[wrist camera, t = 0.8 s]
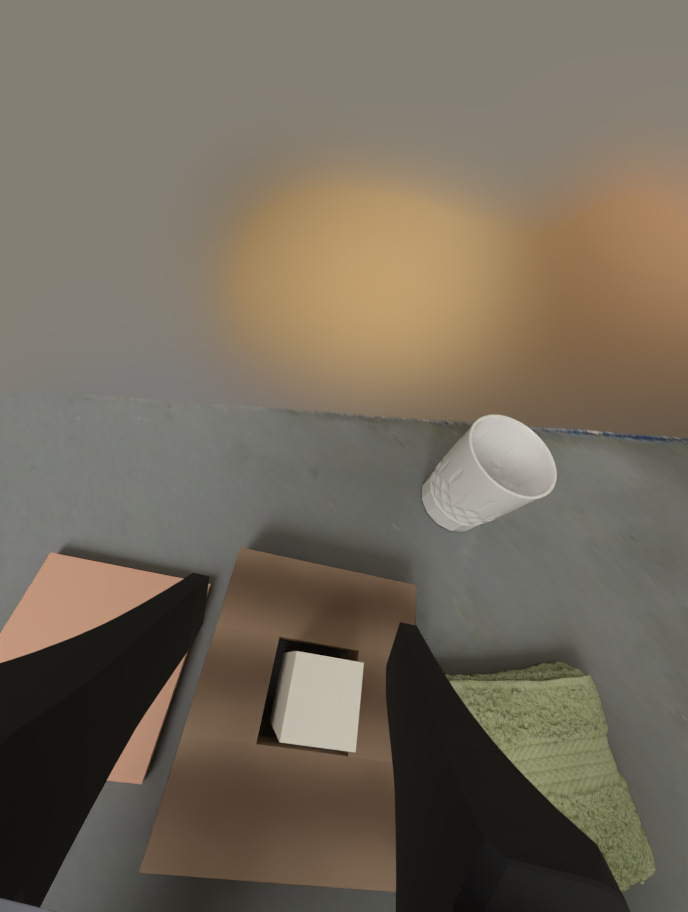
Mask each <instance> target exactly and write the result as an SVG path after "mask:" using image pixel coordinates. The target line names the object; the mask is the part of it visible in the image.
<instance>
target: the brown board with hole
mask: <svg viewBox="0 0 688 912" xmlns="http://www.w3.org/2000/svg"><path fill="white" fill-rule="evenodd" d="M400 622H403V623H407V624H411V625H416V585H414V584H409V583H404V582H400V581H395V580H390V579H386V578H381V577H376V576H372V575H367V574H362V573H358V572H353V571H348V570H344V569H339V568H334V567H330V566H325V565H320V564H316V563H311V562H306V561H302V560H297V559H292V558H288V557H283V556H278V555H274V554H269V553H265V552H260V551H255V550H251V549H246V548H240V551H239V554H238V557H237V561H236V564H235V567H234V570H233V573H232V577H231V580H230V583H229V586H228V589H227V593H226V596H225V599H224V602H223V605H222V609H221V612H220V615H219V618H218V621H217V625H216V628H215V631H214V634H213V637H212V641H211V644H210V647H209V650H208V653H207V656H206V660H205V663H204V666H203V669H202V672H201V676H200V679H199V682H198V685H197V688H196V692H195V695H194V698H193V701H192V704H191V708H190V711H189V714H188V717H187V720H186V724H185V727H184V730H183V733H182V736H181V740H180V743H179V746H178V749H177V752H176V755H175V759H174V762H173V765H172V768H171V771H170V775H169V778H168V781H167V784H166V787H165V791H164V794H163V797H162V800H161V803H160V807H159V810H158V813H157V816H156V819H155V823H154V826H153V829H152V832H151V835H150V839H149V842H148V845H147V848H146V851H145V855H144V858H143V861H142V864H141V867H140V870H139V873H147V874H160V875H174V876H187V877H201V878H214V879H228V880H241V881H255V882H268V883H282V884H295V885H309V886H322V887H336V888H349V889H363V890H376V891H390V892H396V827H395V788H394V774H393V764H392V754H391V744H390V735H389V725H388V715H387V705H386V664H387V661H388V658H389V655H390V652H391V649H392V645H393V642H394V639H395V636H396V633H397V630H398V627H399V623H400ZM279 639H281V640H286V641H292V642H298V643H303V644H309V645H314V646H320V647H326V648H331V649H337V650H342V651H347V660H351V661H357V662H363V663H364V667H363V678H362V689H361V700H360V711H359V722H358V733H357V743H356V753H355V752H348V751H340V750H333V749H325V748H318V747H310V746H303V745H296V744H288V743H281V742H279V740H278V738H276V737H268V736H261V735H258V733H259V729H260V724H261V720H262V715H263V710H264V706H265V701H266V697H267V692H268V687H269V683H270V678H271V674H272V669H273V664H274V660H275V655H276V651H277V646H278V641H279Z"/></svg>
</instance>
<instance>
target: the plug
mask: <svg viewBox="0 0 688 912" xmlns="http://www.w3.org/2000/svg"><path fill="white" fill-rule="evenodd" d="M363 667H364V663H363V662H357V661H351V660H345V659H340V658H334V657H328V656H323V655H317V654H311V653H305V652H300V651H293V652H285V653H283V658H282V663H281V668H280V673H279V678H278V682H277V687H276V692H275V697H274V702H273V707H272V712H271V716H270V723H271V725H272V727H273V729H274V731H275V734H276V736H277V738H278V740H279V742H281V743H288V744H296V745H303V746H310V747H318V748H325V749H333V750H340V751H348V752H355V753H356V743H357V733H358V722H359V711H360V700H361V689H362V678H363Z"/></svg>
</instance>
